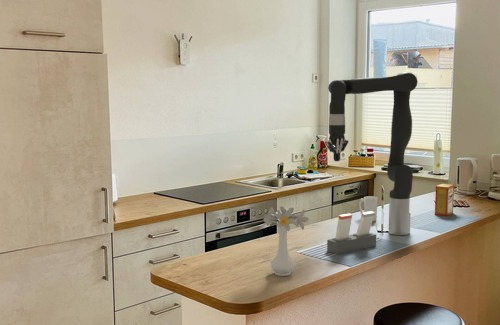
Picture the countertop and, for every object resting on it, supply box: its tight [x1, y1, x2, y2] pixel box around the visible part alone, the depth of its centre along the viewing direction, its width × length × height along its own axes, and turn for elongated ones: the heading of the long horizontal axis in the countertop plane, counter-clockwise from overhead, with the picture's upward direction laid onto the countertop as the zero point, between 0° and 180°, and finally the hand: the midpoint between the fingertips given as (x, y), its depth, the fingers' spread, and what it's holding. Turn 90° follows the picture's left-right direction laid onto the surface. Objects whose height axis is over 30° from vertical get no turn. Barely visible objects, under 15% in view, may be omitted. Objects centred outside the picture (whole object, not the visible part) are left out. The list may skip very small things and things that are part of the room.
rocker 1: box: [334, 212, 353, 240], centre depth 239 cm, size 6×2×11 cm, turn 124°
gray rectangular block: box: [326, 232, 377, 255], centre depth 244 cm, size 23×6×6 cm, turn 124°
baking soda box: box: [434, 183, 455, 217], centre depth 309 cm, size 10×6×16 cm
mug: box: [358, 195, 378, 223], centre depth 296 cm, size 10×7×12 cm, turn 51°
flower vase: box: [261, 205, 309, 277], centre depth 211 cm, size 13×18×25 cm
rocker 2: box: [355, 211, 375, 236], centre depth 245 cm, size 6×2×11 cm, turn 124°
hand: (336, 161), depth 264 cm, fingers closed
